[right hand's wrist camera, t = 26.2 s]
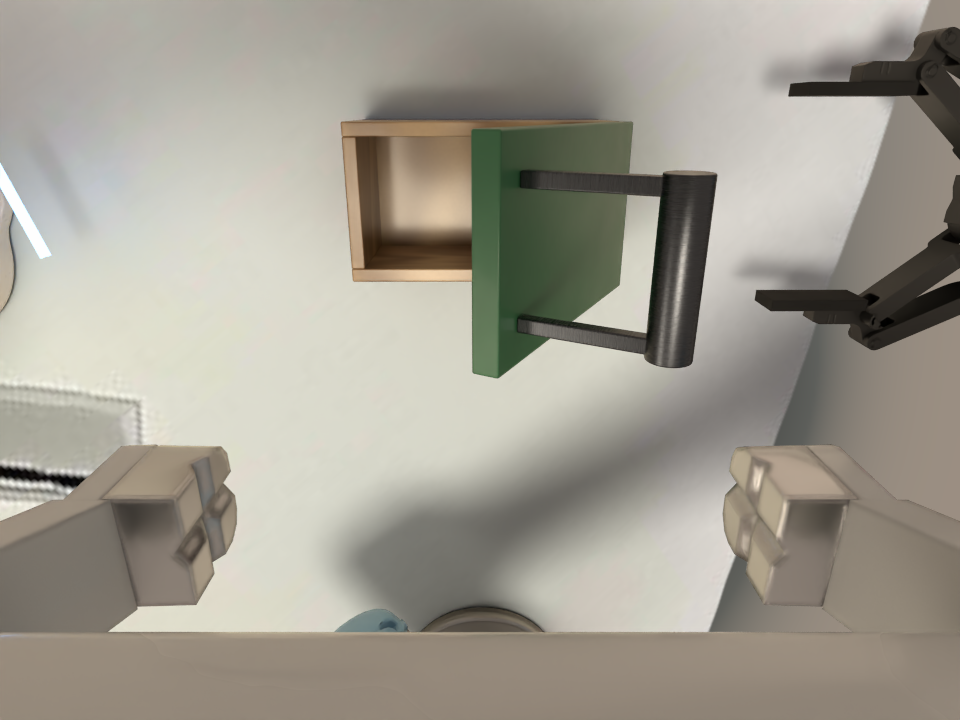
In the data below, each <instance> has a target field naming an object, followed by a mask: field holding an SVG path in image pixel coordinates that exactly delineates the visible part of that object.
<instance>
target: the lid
mask: <svg viewBox="0 0 960 720" xmlns="http://www.w3.org/2000/svg"><path fill="white" fill-rule="evenodd" d="M632 130H633V122H594V123H574V124H554V125H534V126H514V127H494V128H474V129H472V130H471V193H472V368H473V373H474V374H479V375H483V376H488V377H493V378H499V377H501V376H502V375H503V374H505V373H506V372H507V371H509V370H510V369H511V368H512V367H514V366H515V365H516V364H518V363H519V362H520V361H522V360H523V359H524V358H525V357H527V356H528V355H529V354H531V353H532V352H533V351H535V350H536V349H537V348H538V347H540V346H541V345H542V344H544V343H545V342H546V341H548V340H549V339H550V338H552V339H558V340H564V341H569V342H575V343H581V344H587V345H593V346H598V347H604V348H610V349H616V350H622V351H627V352H633V353H639V354H644V358H645V360H646V361H647V362H649V363H651V364H653V365H656V366H660V367H666V368H682V367H687V366H689V365H691V364H692V362H693V355H694V347H695V340H696V332H697V325H698V317H699V310H700V302H701V295H702V287H703V280H704V272H705V265H706V257H707V250H708V242H709V235H710V227H711V220H712V212H713V205H714V197H715V190H716V182H717V173H714V172H706V171H666V172H664V173H663V175H647V174H629V166H630V154H631V142H632ZM627 195H640V196H656V197H660V207H659V217H658V226H657V236H656V246H655V256H654V265H653V275H652V285H651V295H650V304H649V314H648V324H647V333H641V332H634V331H628V330H622V329H615V328H609V327H602V326H596V325H590V324H583V323H577V322H572V321H574V320H575V319H576V318H577V317H579V316H580V315H581V314H583V313H584V312H585V311H587V310H588V309H589V308H590V307H592V306H593V305H594V304H596V303H597V302H598V301H600V300H601V299H602V298H604V297H605V296H606V295H607V294H609V293H610V292H611V291H613V290H614V289H615V288H617V287H618V286H619V285H620V274H621V262H622V250H623V238H624V226H625V214H626V202H627Z"/></svg>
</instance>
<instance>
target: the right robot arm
mask: <svg viewBox="0 0 960 720" xmlns="http://www.w3.org/2000/svg"><path fill="white" fill-rule="evenodd" d="M13 210H14V212H15V214H16V216H17V218H18V219H19V221H20V223H21V225H22V226H23V228H24V230H25V232H26V234H27V235H28V237H29V239H30V241H31V242H32V244H33V246H34V248H35V249H36V251H37V253H38V255H39V257H40V258H44V257H47V256H50V255H51V254H50V252H49V250H48V248H47V247H46V245H45V243H44V241H43V239H42V238H41V236H40V234H39V232H38V230H37V229H36V227H35V225H34V223H33V221H32V220H31V218H30V216H29V214H28V213H27V211H26V209H25V207H24V205H23V204H22V202H21V200H20V198H19V196H18V195H17V193H16V191H15V189H14V187H13V186H12V184H11V182H10V180H9V178H8V177H7V175H6V173H5V171H4V169H3V168H2V166H1V164H0V311H1V310H2V309H3V307H4V306H5V304H6V302H7V300H8V298H9V296H10V293H11V290H12V285H13V279H14V261H13V254H12V249H11V244H10V239H9V226H10V222H11V218H12V214H13ZM230 472H231V470H230V465H229V460H228V455H227V452H226V451H225V450H224V449H223V448H222V447H221V446H172V445H160V446H158V445H128V446H121V447H120V448H119V449H118V450H117V451H116V452H115V453H113V454H112V455H111V456H110V457H109V458H108V459H107V460H106V461H105V462H104V463H103V464H102V465H100V466H99V467H98V468H97V469H96V470H95V471H94V472H93V473H92V474H91V475H90V476H89V477H87V478H86V479H85V480H84V481H83V482H82V483H81V484H80V485H79V486H78V487H77V488H75V489H74V490H73V491H72V492H71V493H70V494H69V495H68V496H67V497H66V498H65V499H64V500H51V501H49V502H46V503H44V504H41V505H39V506H37V507H34V508H32V509H29V510H27V511H24V512H22V513H19V514H17V515H14V516H12V517H10V518H7V519H5V520H2V521H0V720H960V521H958V520H955V519H953V518H950V517H948V516H945V515H943V514H941V513H938V512H936V511H933V510H931V509H928V508H926V507H923V506H921V505H919V504H916V503H914V502H911V501H909V500H897V499H895V498H894V497H893V496H892V495H891V494H890V493H889V492H888V491H887V490H886V489H885V488H884V487H882V486H881V485H880V484H879V483H878V482H877V481H876V480H875V479H874V478H873V477H872V476H871V475H869V474H868V473H867V472H866V471H865V470H864V469H863V468H862V467H861V466H860V465H859V464H857V463H856V462H855V461H854V460H853V459H852V458H851V457H850V456H849V455H848V454H847V453H846V452H845V451H843V450H842V449H841V448H840V447H838V446H834V445H831V444H830V445H807V446H805V445H793V446H751V447H739V448H736V449H735V451H734V454H733V456H732V459H731V464H730V470H729V472H730V473H731V475H732V476H733V478H734V479H735V481H736V483H737V484H736V485H735V486H734V487H733V488H732V489H731V490H730V491H729V492H728V493H727V494H726V495H725V500H724V508H723V522H724V531H725V534H726V537H727V541H728V543H729V545H730V547H731V549H732V551H733V552H734V554H735V555H737V556H739V557H740V558H742V559H744V560H745V561H747V562H748V563H747V568H746V575H747V577H748V579H749V580H750V582H751V584H752V585H753V587H754V589H755V591H756V592H757V594H758V596H759V597H760V599H761V601H762V602H763V604H764V605H785V606H822V607H823V608H822V609H823V610H824V611H826V612H827V613H828V614H830V615H831V616H832V617H834V618H835V619H836V620H838V621H839V622H840V623H842V624H843V625H844V626H846V627H847V628H848V629H850V630H851V631H852V632H108V631H109V630H111V629H112V628H113V627H115V626H116V625H117V624H119V623H120V622H121V621H123V620H124V619H125V618H127V617H128V616H129V615H131V614H132V613H133V612H135V611H136V610H137V606H173V605H196V604H197V603H198V601H199V599H200V598H201V596H202V594H203V592H204V591H205V589H206V587H207V585H208V584H209V582H210V580H211V579H212V577H213V575H214V568H213V563H212V562H213V561H215V560H217V559H218V558H220V557H221V556H223V555H225V554H226V552H227V551H228V549H229V547H230V545H231V543H232V541H233V537H234V533H235V529H236V525H237V506H236V499H235V495H234V494H233V493H232V492H231V491H230V490H229V489H228V488H227V487H226V486H225V485H224V484H223V483H224V481H225V479H226V478H227V476H228V475H229V473H230Z"/></svg>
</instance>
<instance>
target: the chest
mask: <svg viewBox="0 0 960 720" xmlns="http://www.w3.org/2000/svg"><path fill="white" fill-rule="evenodd" d="M594 122H619V121H608V120H598V119H365V120H356V121H344V122H341V132H342V136H343V137H342V146H343V159H344V172H345V185H346V198H347V211H348V224H349V236H350V249H351V262H352V268H353V269H352V275H353V281H354V282H445V281H472V193H471V130H472V129H474V128H494V127H514V126H534V125H554V124H574V123H594Z"/></svg>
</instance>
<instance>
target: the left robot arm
mask: <svg viewBox="0 0 960 720" xmlns="http://www.w3.org/2000/svg"><path fill="white" fill-rule="evenodd" d="M947 71H948V72H949V73H951V74H952V75H954V76H956V77H957V78H959V79H960V29H958V28H956V27H950V28H944V29H938V30H932V31H927V32H923V33H921V34H919V35H918V36H917V37H916V39H915V41H914V51H913V53H912V54H911V56H910V57H909V58H908V59H907V60H905V61H873V62H865V63H860V64H857V65H855V66H852V70H851V75H850V80H849V82H805V83H793V84H790V90H789V96H911V98H912V99H913V100H914V101H915V102H916V103H917V104H918V106H919V107H920V108H921V109H922V110H923V112H924V113H925V114H926V115H927V116H928V117H929V119H930V120H931V121H932V122H933V123H934V124H935V126H936V127H937V128H938V129H939V130H940V131H941V133H942V134H943V135H944V136H945V137H946V138H947V139H948V141H949V142H950V143H951V144H952V145H953V147H954V148H953V152H954V154H955V155H956V156H957V157H958V158H959V159H960V87H959V86H958V85H957V84H956V82H955V81H954V80H953V79H952V77H951V76H950V75H949V74H948V73H947ZM944 222H946V223H948V229H946V230H945V231H944V232H942V233H941V234H939V235H938V236H936V237H935V238H933V239H932V240H931V241H930V242H929V243H928V247H927V248H926V249H924V250H923V251H922V252H920V253H919V254H917V255H916V256H914V257H913V258H911V259H910V260H909V261H907V262H906V263H904V264H903V265H901V266H900V267H899V268H897V269H896V270H894V271H893V272H891V273H890V274H888V275H887V276H886V277H884V278H883V279H881V280H880V281H878V282H877V283H875V284H874V285H873V286H871V287H870V288H868V289H867V290H865V291H864V292H863V293H861V294H860V295H856V294H854V293H852V292H850V291H848V290H756V296H755V301H757V302H758V303H760V304H761V305H763V306H764V307H766V308H767V309H769V310H770V311H804V313H803V316H805V317H807V318H808V319H810V320H811V321H813V322H815V323H818V324H850V326H851V327H850V329H849V331H848V334H849V336H850V337H851V338H852V339H854V340H856V341H857V342H859V343H861V344H862V345H864V346H865V347H867V348H869V349H871V350H878V349H880V348H882V347H885V346H887V345H890V344H892V343H894V342H897V341H899V340H901V339H904V338H906V337H908V336H911V335H913V334H916V333H918V332H920V331H923V330H925V329H927V328H930V327H932V326H934V325H937V324H939V323H941V322H944V321H946V320H949V319H951V318H953V317H956V316H958V315H960V281H959V282H954V283H950V284H947V285H945V286H942V287H940V288H937V289H935V290H933V291H930V292H928V293H926V294H923V295H921V296H919V295H920V294H922V293H923V292H925V291H926V290H928V289H929V288H931V287H932V286H934V285H935V284H937V283H938V282H940V281H941V280H943V279H944V278H945V277H947V276H948V275H950V274H951V273H953V272H954V271H956V270H957V269H959V268H960V245H959V243H960V175H956V177H955V181H954V185H953V200H952V202H951V203H950V205H949V207H948V209H947V211H946V215H945V219H944ZM918 296H919V297H918ZM335 632H409V630H408V626H407V624H406V623H405V622H404V621H403V620H402V619H401V620H400V619H399V618H397V617H396V616H395V615H394V614H393V613H391V612H389V611H387V610H384V609H374V610H370V611H366V612H364V613H361V614H359V615H357V616H355V617H354V618H352V619H350V620H349V621H347V622H346V623H344V624H343V625H342V626H340V627H339V628H338V629H337V630H336V631H335ZM421 632H543V631H542V630H541V629H540V628H539V627H537V626H536V625H535V624H534V623H532V622H531V621H529V620H528V619H526V618H524V617H522V616H520V615H518V614H515V613H513V612H510V611H506V610H502V609H497V608H486V607H478V608H467V609H462V610H458V611H454V612H451V613H449V614H446V615H444V616H442V617H440V618H438V619H436V620H435V621H433V622H432V623H430V624H429V625H428V626H427V627H425V628H424V629H423V630H422V631H421Z"/></svg>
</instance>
